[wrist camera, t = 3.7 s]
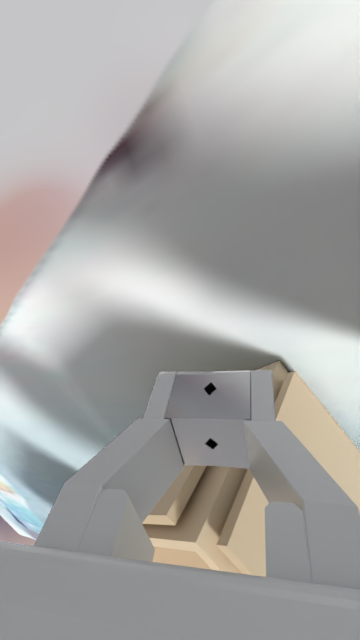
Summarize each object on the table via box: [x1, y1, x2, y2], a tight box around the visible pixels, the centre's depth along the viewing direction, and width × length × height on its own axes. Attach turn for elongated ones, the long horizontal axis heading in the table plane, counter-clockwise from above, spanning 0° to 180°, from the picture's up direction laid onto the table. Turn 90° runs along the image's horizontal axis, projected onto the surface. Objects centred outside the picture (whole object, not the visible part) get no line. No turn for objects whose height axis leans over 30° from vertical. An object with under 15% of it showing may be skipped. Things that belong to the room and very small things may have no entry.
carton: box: [142, 361, 360, 577], centre depth 19 cm, size 13×18×10 cm
